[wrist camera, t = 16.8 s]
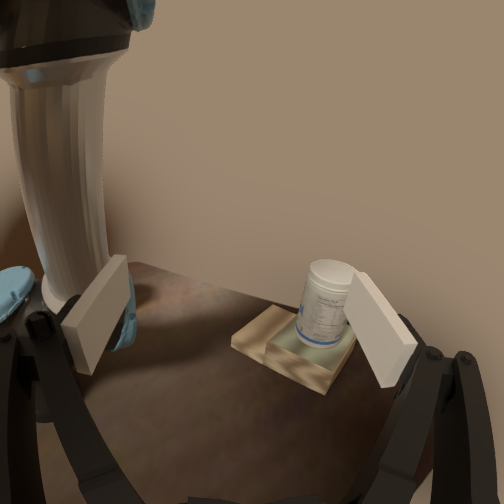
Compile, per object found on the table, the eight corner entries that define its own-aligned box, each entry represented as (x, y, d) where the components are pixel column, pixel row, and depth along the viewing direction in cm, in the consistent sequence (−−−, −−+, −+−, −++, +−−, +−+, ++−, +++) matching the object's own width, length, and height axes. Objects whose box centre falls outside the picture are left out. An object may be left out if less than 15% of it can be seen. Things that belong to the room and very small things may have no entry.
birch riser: (230, 346, 60) (232, 323, 57) (271, 314, 72) (274, 292, 70) (324, 395, 49) (334, 373, 46) (352, 350, 61) (360, 328, 59)
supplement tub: (294, 318, 61) (307, 254, 55) (337, 323, 60) (355, 262, 54) (293, 348, 52) (310, 278, 46) (343, 353, 51) (366, 286, 45)
